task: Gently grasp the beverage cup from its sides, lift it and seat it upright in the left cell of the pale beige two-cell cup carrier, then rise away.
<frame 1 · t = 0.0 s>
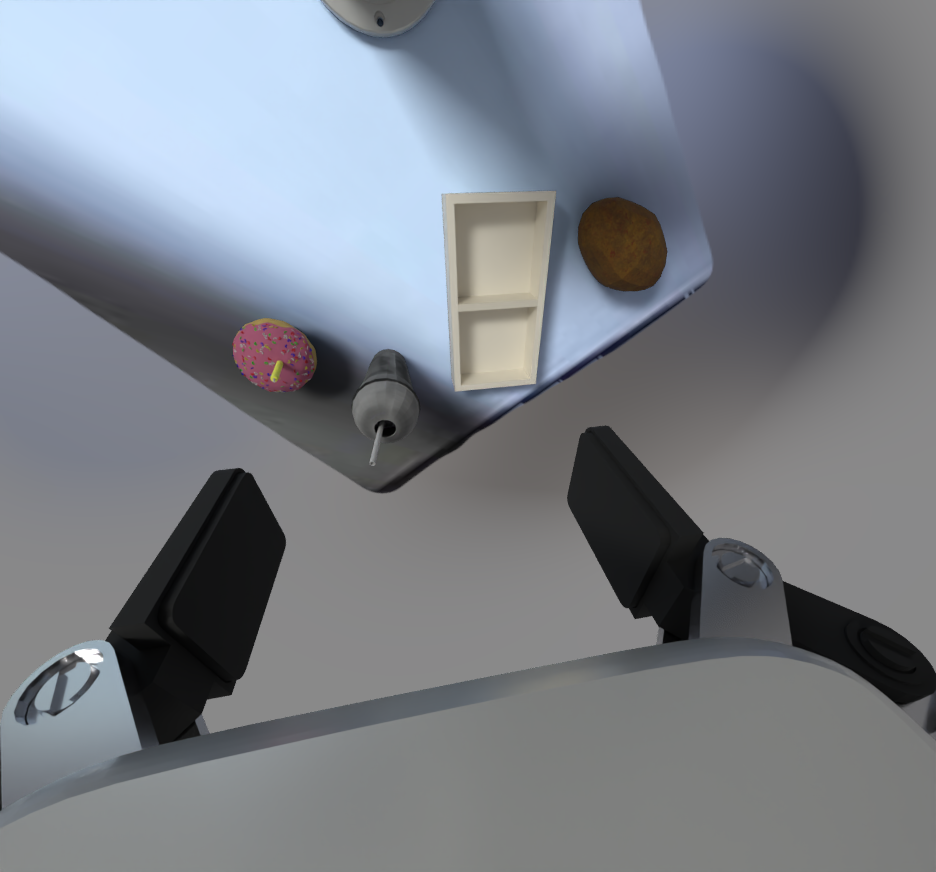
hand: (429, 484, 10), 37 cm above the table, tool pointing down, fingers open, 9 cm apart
cup carrier: (491, 297, 43), on the table
beverage cup: (389, 364, 46), on the table
potato: (607, 243, 42), on the table
cupcake: (287, 343, 43), on the table
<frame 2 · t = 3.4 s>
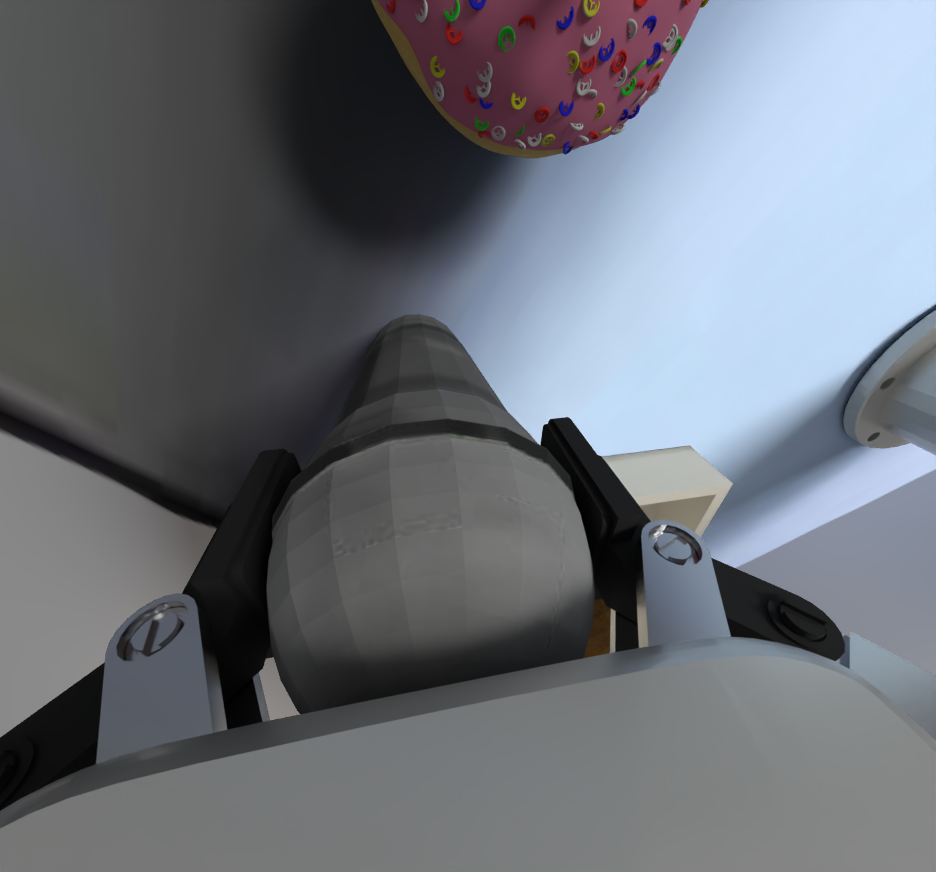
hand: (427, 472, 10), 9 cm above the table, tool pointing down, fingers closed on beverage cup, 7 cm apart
cup carrier: (539, 517, 27), on the table
beverage cup: (417, 357, 18), on the table, touching gripper
potato: (572, 599, 36), on the table
cupcake: (498, 1, 11), on the table
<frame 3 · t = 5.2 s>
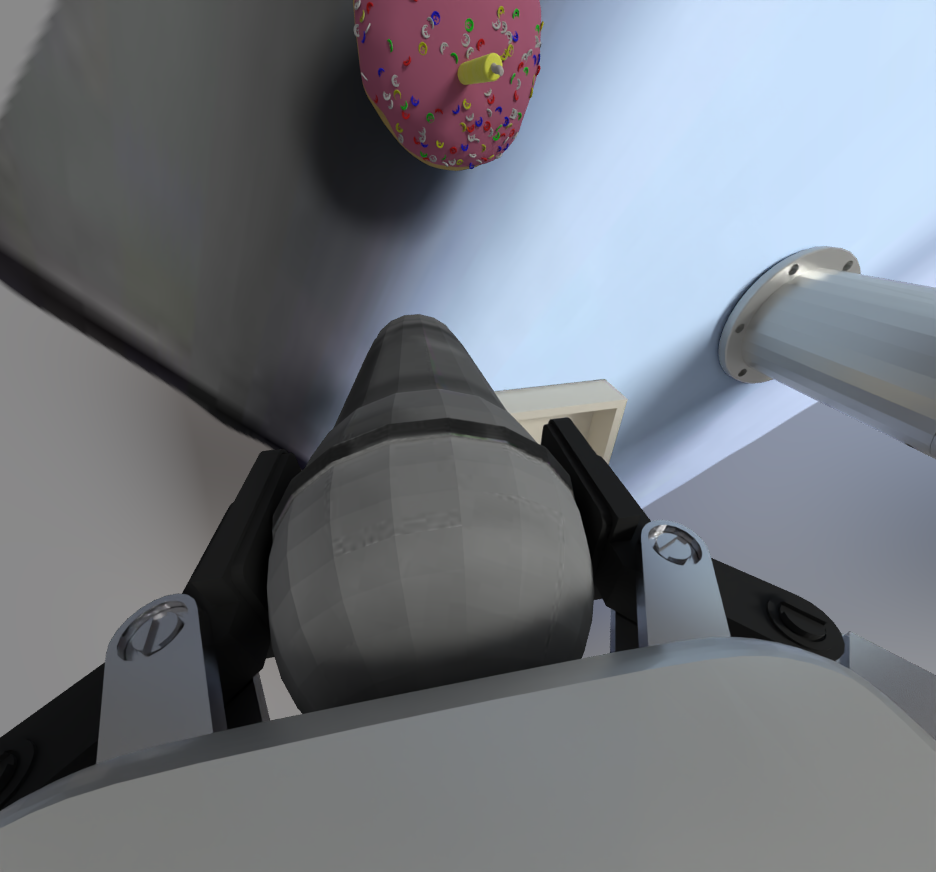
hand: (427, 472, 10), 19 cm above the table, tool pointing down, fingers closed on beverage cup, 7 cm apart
cup carrier: (495, 439, 35), on the table
beverage cup: (417, 357, 18), point 10 cm above the table, touching gripper
cupcake: (438, 79, 19), on the table
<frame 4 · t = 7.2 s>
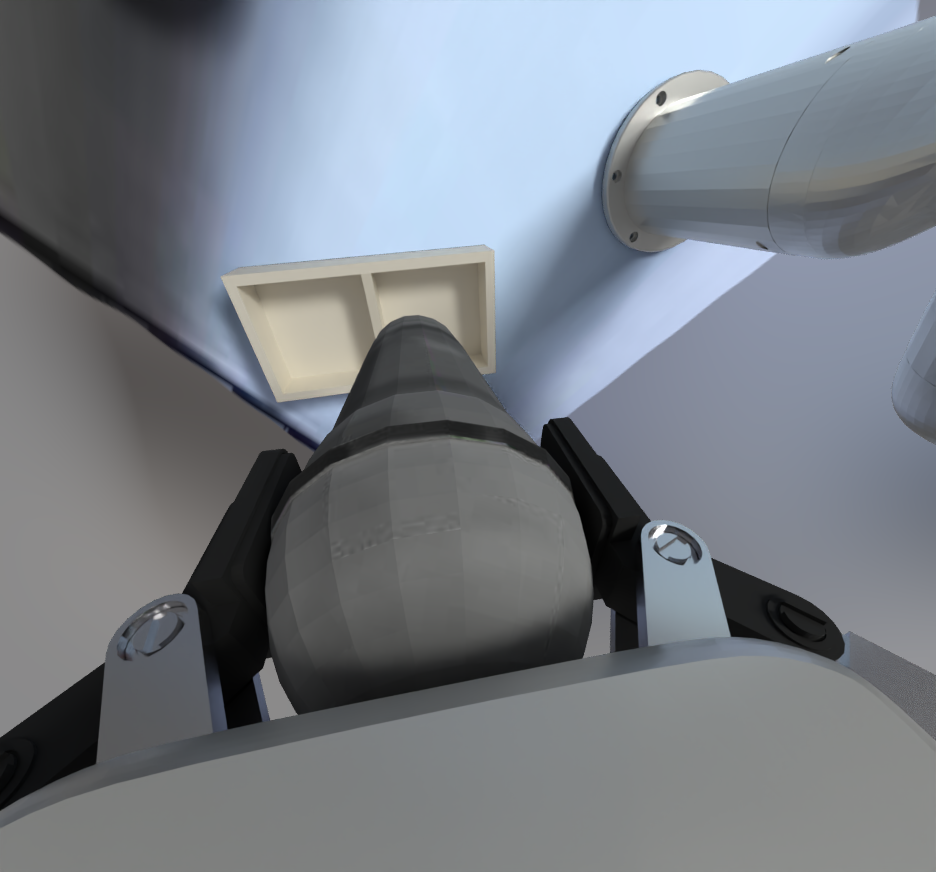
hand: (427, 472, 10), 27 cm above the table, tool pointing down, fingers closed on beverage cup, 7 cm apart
cup carrier: (379, 318, 34), on the table
beverage cup: (416, 357, 18), point 18 cm above the table, touching gripper
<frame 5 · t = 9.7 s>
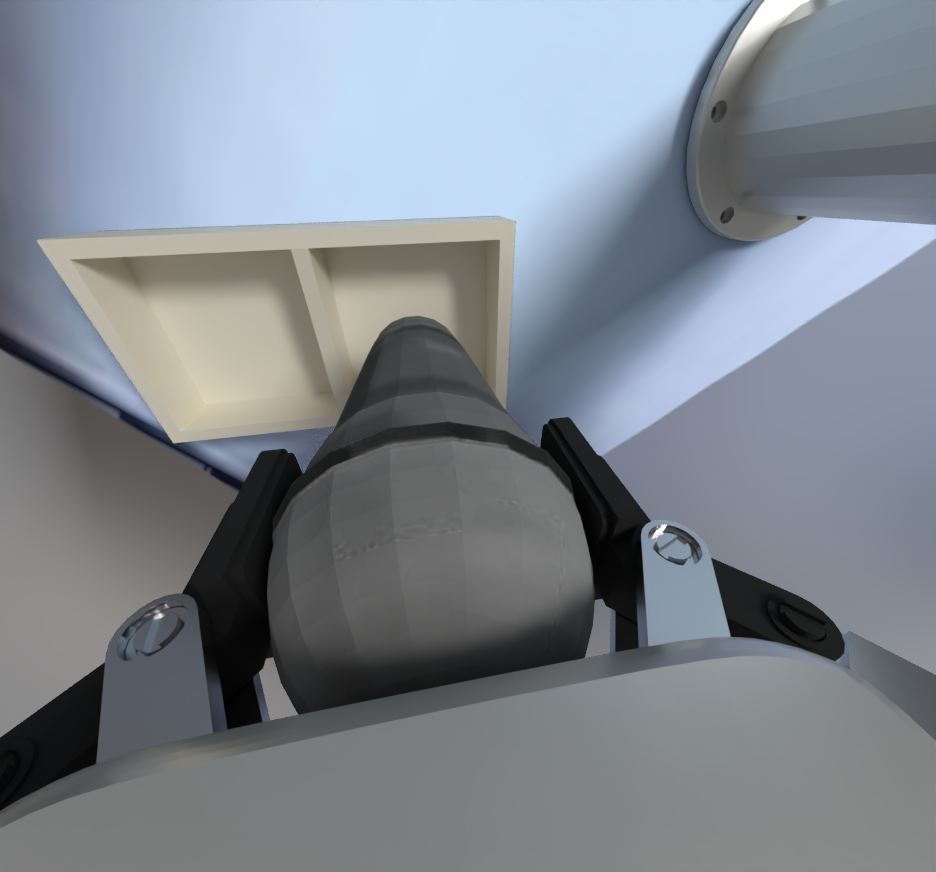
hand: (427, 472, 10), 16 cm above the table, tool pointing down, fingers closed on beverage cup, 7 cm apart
cup carrier: (336, 322, 23), on the table
beverage cup: (417, 358, 18), point 7 cm above the table, touching gripper
when the fingers open (11 cm above the table, at t = 11.3 s): beverage cup drops 2 cm, resting on cup carrier.
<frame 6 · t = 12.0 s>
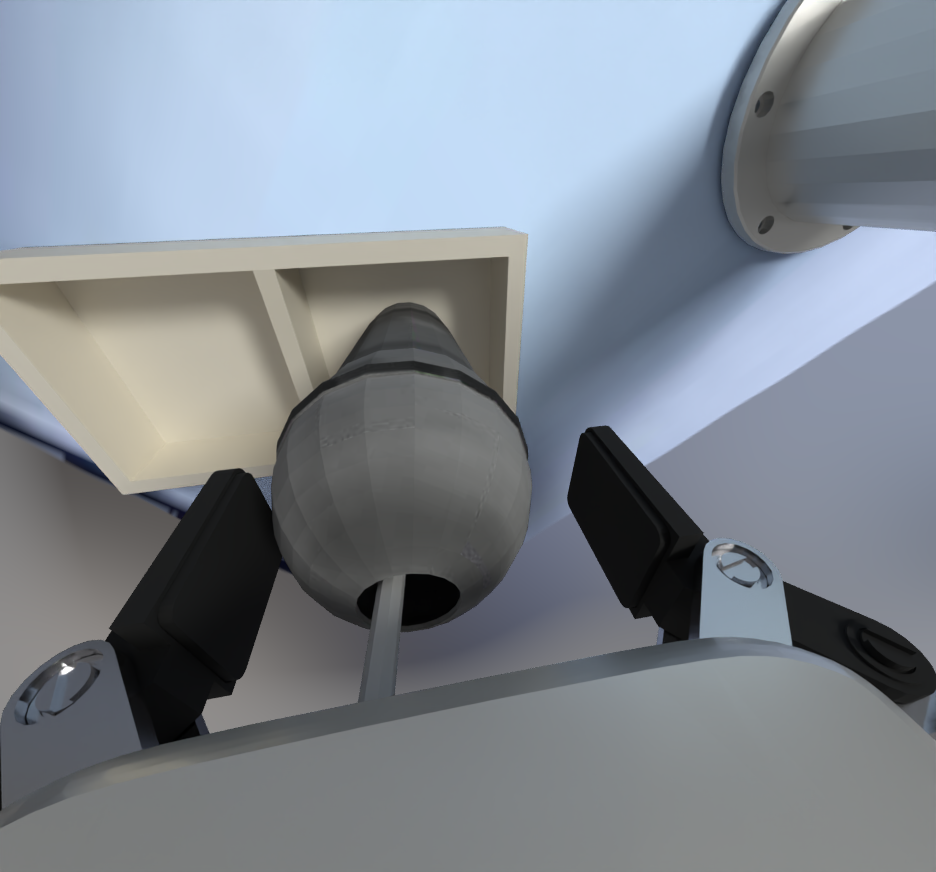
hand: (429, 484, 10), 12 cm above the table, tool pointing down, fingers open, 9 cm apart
cup carrier: (316, 349, 19), on the table
beverage cup: (409, 341, 20), resting on cup carrier
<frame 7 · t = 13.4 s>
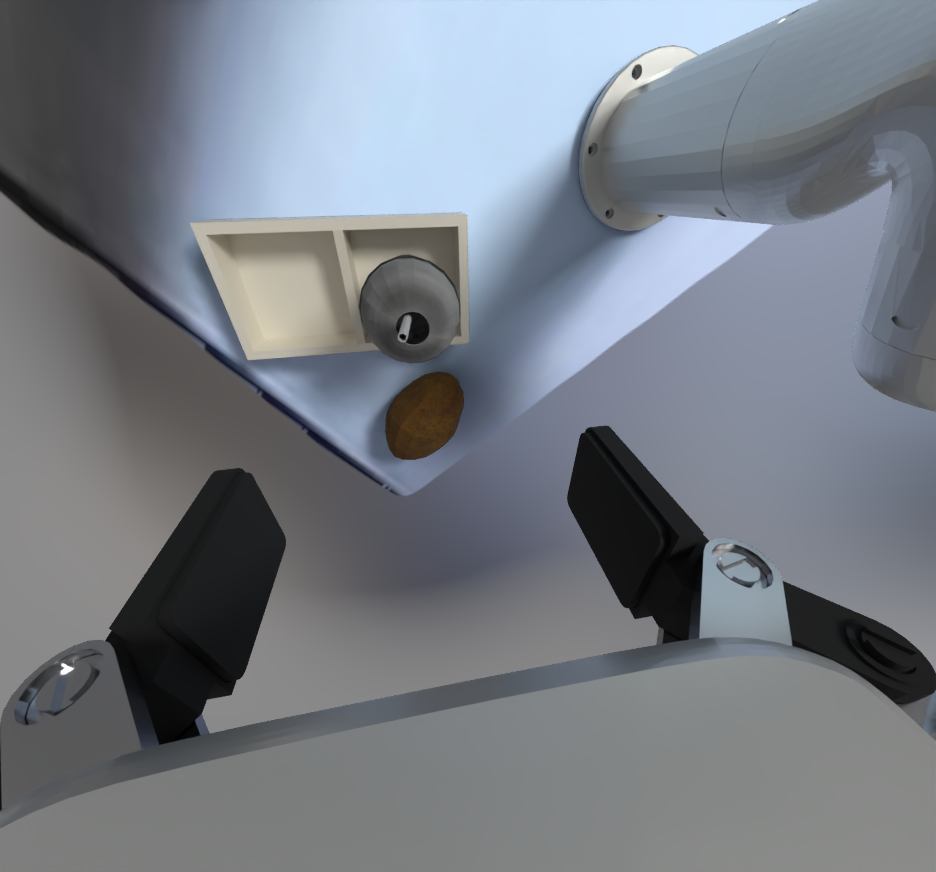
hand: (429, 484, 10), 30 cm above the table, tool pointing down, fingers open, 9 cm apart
cup carrier: (355, 282, 34), on the table
beverage cup: (408, 279, 34), resting on cup carrier
potato: (422, 402, 43), on the table
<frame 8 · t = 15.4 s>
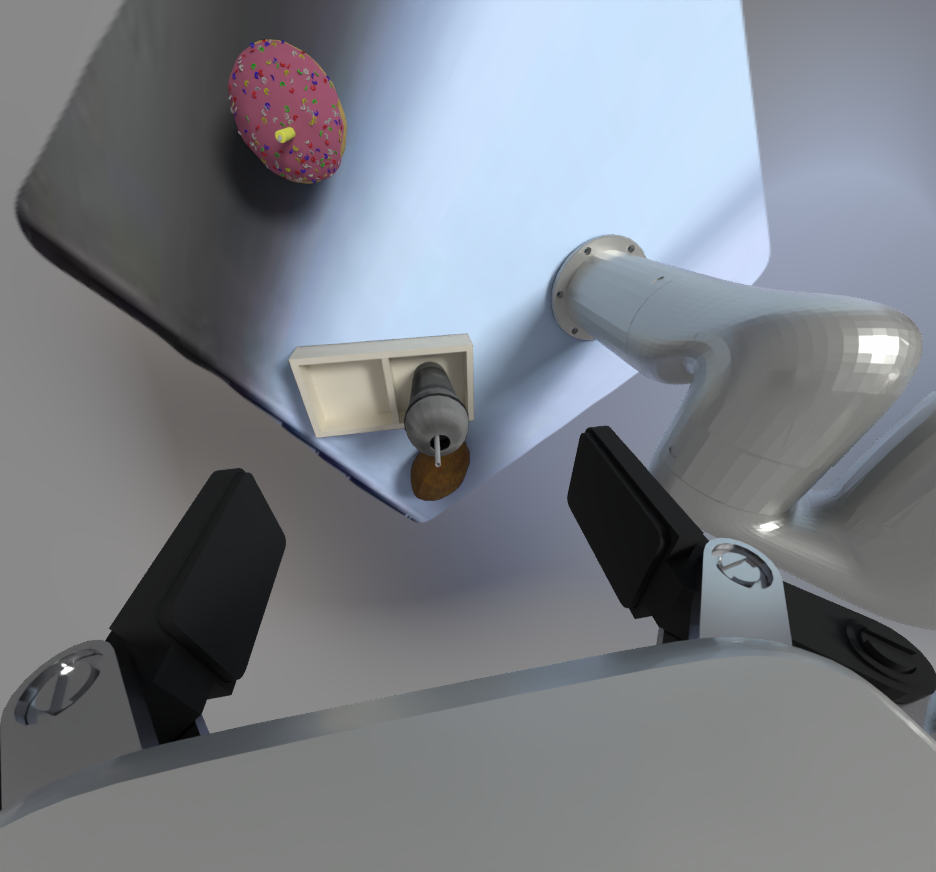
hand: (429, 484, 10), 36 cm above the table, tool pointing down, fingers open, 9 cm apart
cup carrier: (391, 379, 47), on the table
beverage cup: (429, 376, 47), resting on cup carrier
potato: (437, 455, 56), on the table
cupcake: (303, 127, 31), on the table
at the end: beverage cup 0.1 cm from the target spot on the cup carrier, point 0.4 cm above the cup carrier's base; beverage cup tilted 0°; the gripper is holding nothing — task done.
